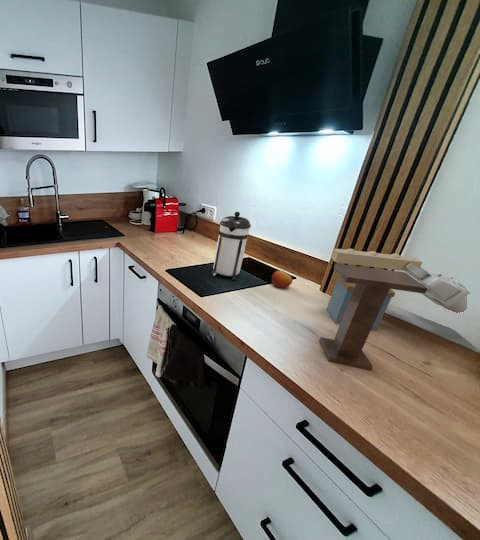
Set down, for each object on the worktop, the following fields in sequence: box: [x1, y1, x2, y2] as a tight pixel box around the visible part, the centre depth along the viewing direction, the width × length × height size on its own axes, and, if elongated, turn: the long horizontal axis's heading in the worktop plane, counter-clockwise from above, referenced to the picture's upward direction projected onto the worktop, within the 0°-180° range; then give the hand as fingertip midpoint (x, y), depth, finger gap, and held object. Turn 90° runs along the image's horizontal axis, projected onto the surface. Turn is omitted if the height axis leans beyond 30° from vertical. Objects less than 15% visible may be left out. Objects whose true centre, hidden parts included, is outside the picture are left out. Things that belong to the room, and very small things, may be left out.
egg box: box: [330, 248, 423, 272], centre depth 93 cm, size 22×4×5 cm, turn 70°
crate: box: [326, 273, 396, 331], centre depth 99 cm, size 13×11×14 cm
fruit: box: [271, 270, 293, 289], centre depth 124 cm, size 8×8×8 cm
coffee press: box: [210, 211, 252, 282], centre depth 131 cm, size 17×16×30 cm
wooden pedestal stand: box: [318, 262, 428, 371], centre depth 79 cm, size 16×10×26 cm, turn 70°
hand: (402, 261), depth 91 cm, fingers closed on egg box, 4 cm apart
